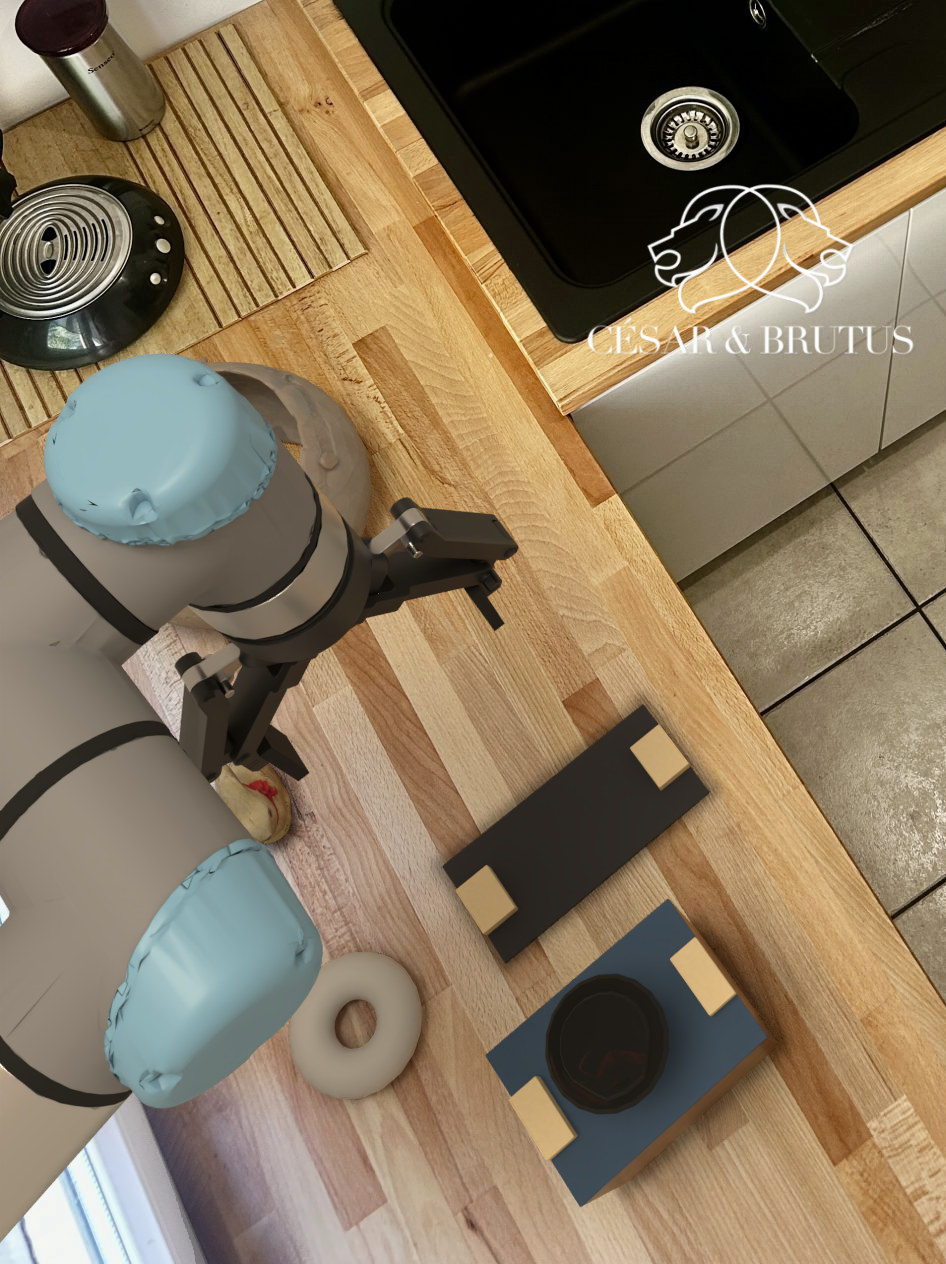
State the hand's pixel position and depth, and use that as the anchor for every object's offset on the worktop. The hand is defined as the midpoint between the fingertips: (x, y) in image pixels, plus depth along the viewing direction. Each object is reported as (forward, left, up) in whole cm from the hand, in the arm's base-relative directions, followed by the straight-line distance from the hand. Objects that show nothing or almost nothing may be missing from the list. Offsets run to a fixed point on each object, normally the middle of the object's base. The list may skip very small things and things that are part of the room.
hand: (392, 683), depth 88 cm
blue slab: (-2, -23, -14) cm, 27 cm away
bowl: (-5, +33, -38) cm, 51 cm away
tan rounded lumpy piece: (-17, +12, -38) cm, 43 cm away
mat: (+2, -6, -38) cm, 38 cm away
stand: (-2, -23, -38) cm, 44 cm away
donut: (-19, -7, -38) cm, 43 cm away
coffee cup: (-2, -23, -14) cm, 27 cm away
